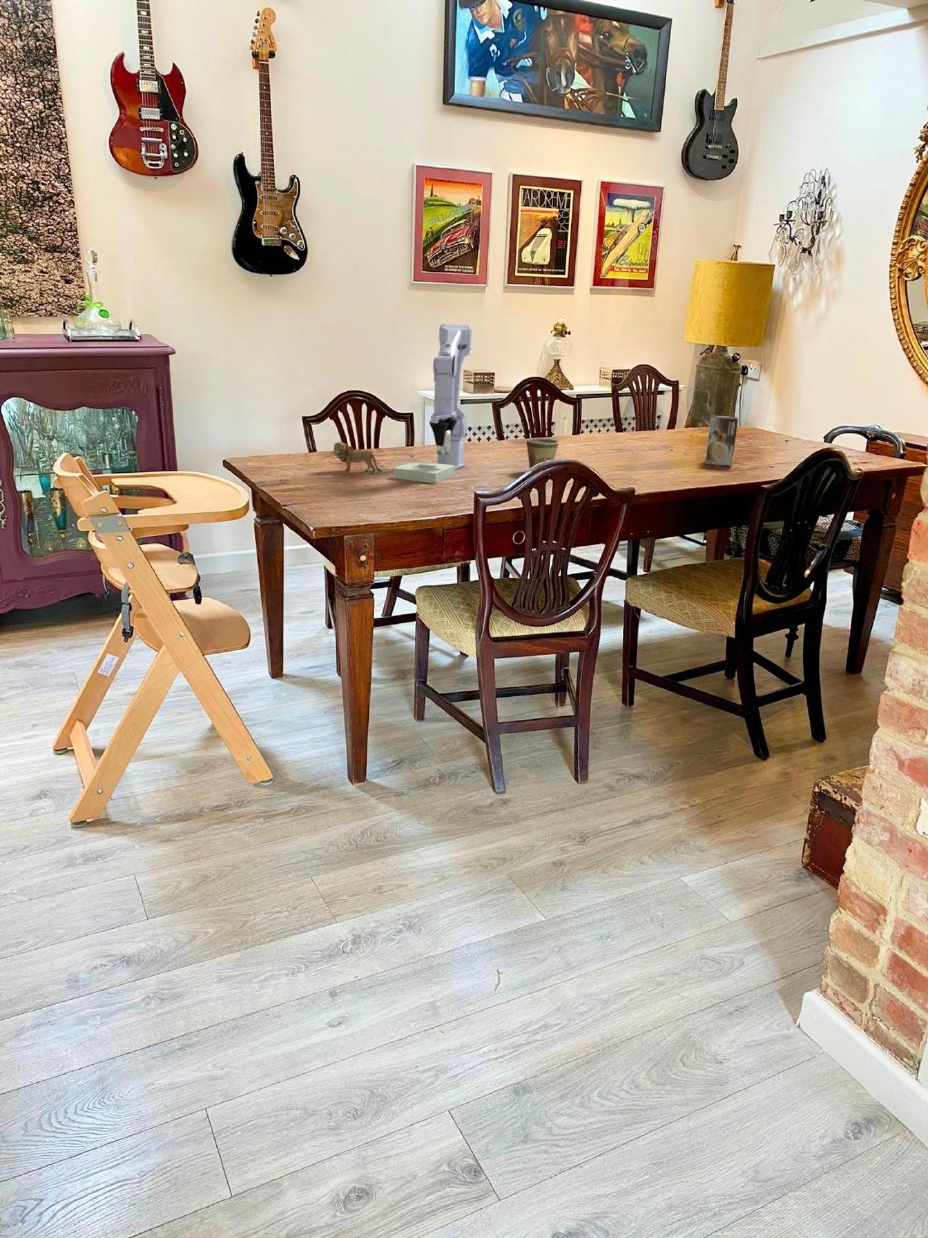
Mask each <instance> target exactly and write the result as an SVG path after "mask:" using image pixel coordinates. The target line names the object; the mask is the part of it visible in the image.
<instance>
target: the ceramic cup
mask: <svg viewBox="0 0 928 1238" xmlns="http://www.w3.org/2000/svg"><path fill="white" fill-rule="evenodd" d="M558 448H559V441H558V440H556V439H552V438H543V437H541V438H538V437H534V438H532V437H531V438H528V439H526V449H527V455H528V456H527V457H528V464H529V465H528V466H529V469H530V468H531V467H533V466H534V465H536V464H538V463H541V462H545V461H547V460H553V461H554V460H555V456H556V454H557V450H558Z"/></svg>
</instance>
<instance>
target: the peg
mask: <svg viewBox="0 0 928 1238" xmlns="http://www.w3.org/2000/svg"><path fill="white" fill-rule="evenodd" d="M450 439H451V430H446V433H445V440H444V445H443V446H436V455H437V456H438V455H450Z"/></svg>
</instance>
